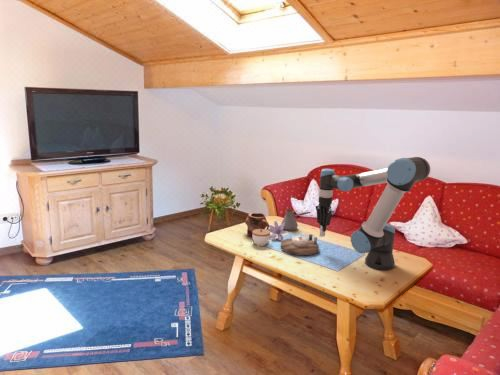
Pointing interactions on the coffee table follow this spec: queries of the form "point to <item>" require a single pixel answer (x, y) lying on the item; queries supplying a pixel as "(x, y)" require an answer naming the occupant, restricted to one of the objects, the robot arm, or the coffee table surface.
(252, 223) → the decorative planter
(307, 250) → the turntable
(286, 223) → the coffee pot
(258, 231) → the lidded jar
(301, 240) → the lid
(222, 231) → the coffee table surface
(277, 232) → the water lily
